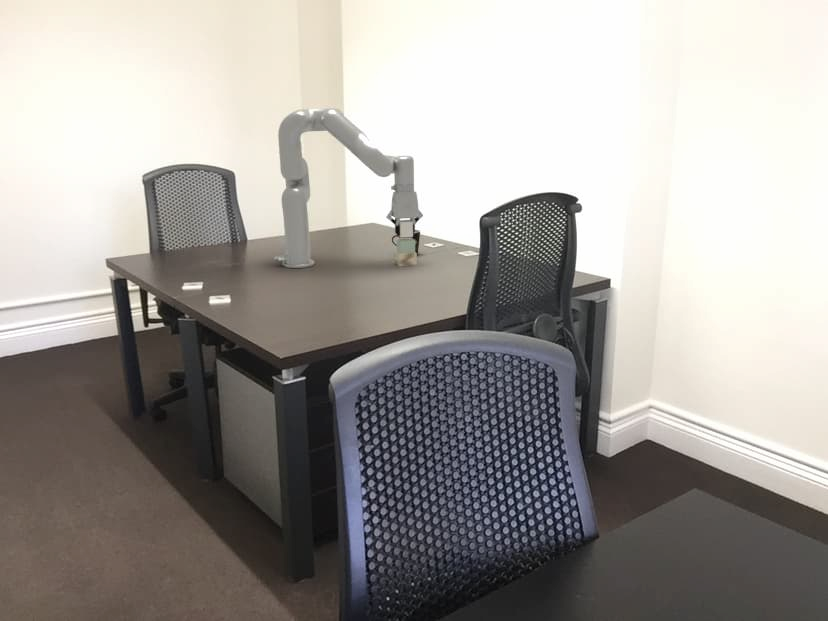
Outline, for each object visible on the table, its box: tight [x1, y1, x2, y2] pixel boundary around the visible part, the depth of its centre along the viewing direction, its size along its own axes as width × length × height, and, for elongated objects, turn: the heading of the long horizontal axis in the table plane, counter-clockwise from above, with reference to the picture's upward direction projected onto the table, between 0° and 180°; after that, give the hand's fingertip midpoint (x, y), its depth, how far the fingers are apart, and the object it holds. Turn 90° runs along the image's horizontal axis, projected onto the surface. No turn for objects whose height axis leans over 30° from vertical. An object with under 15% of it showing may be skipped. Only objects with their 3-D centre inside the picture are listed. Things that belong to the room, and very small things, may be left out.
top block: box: [398, 219, 413, 238], centre depth 287 cm, size 5×5×6 cm
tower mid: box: [396, 237, 415, 254], centre depth 289 cm, size 6×6×5 cm
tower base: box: [394, 250, 418, 267], centre depth 290 cm, size 7×7×5 cm
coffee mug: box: [391, 229, 421, 256], centre depth 305 cm, size 12×9×10 cm
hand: (405, 234), depth 287 cm, fingers closed on top block, 4 cm apart
